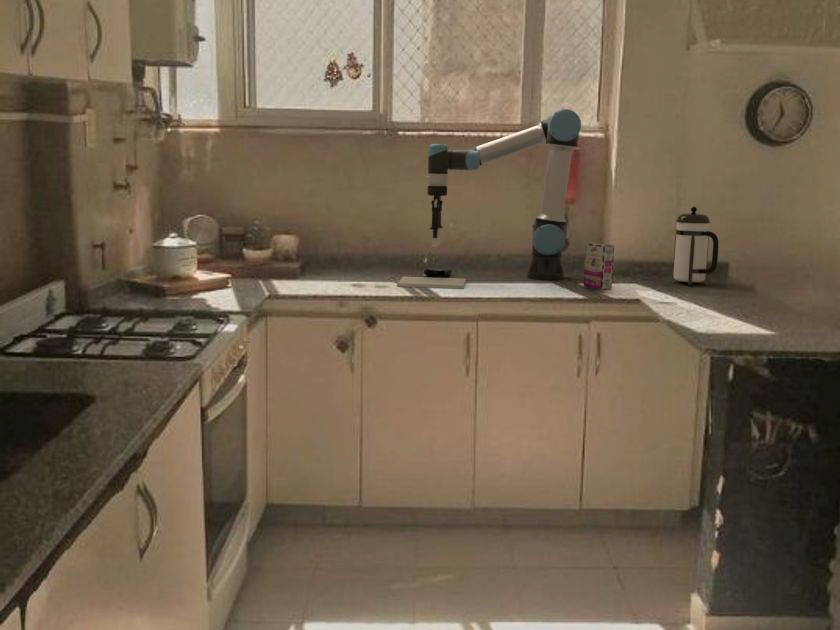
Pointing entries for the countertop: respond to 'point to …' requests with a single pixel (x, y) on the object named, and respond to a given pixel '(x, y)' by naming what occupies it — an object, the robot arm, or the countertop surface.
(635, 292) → the countertop surface
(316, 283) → the countertop surface
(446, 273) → the flask
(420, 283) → the beige flat panel
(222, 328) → the countertop surface
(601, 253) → the candy bar box
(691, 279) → the coffee press
